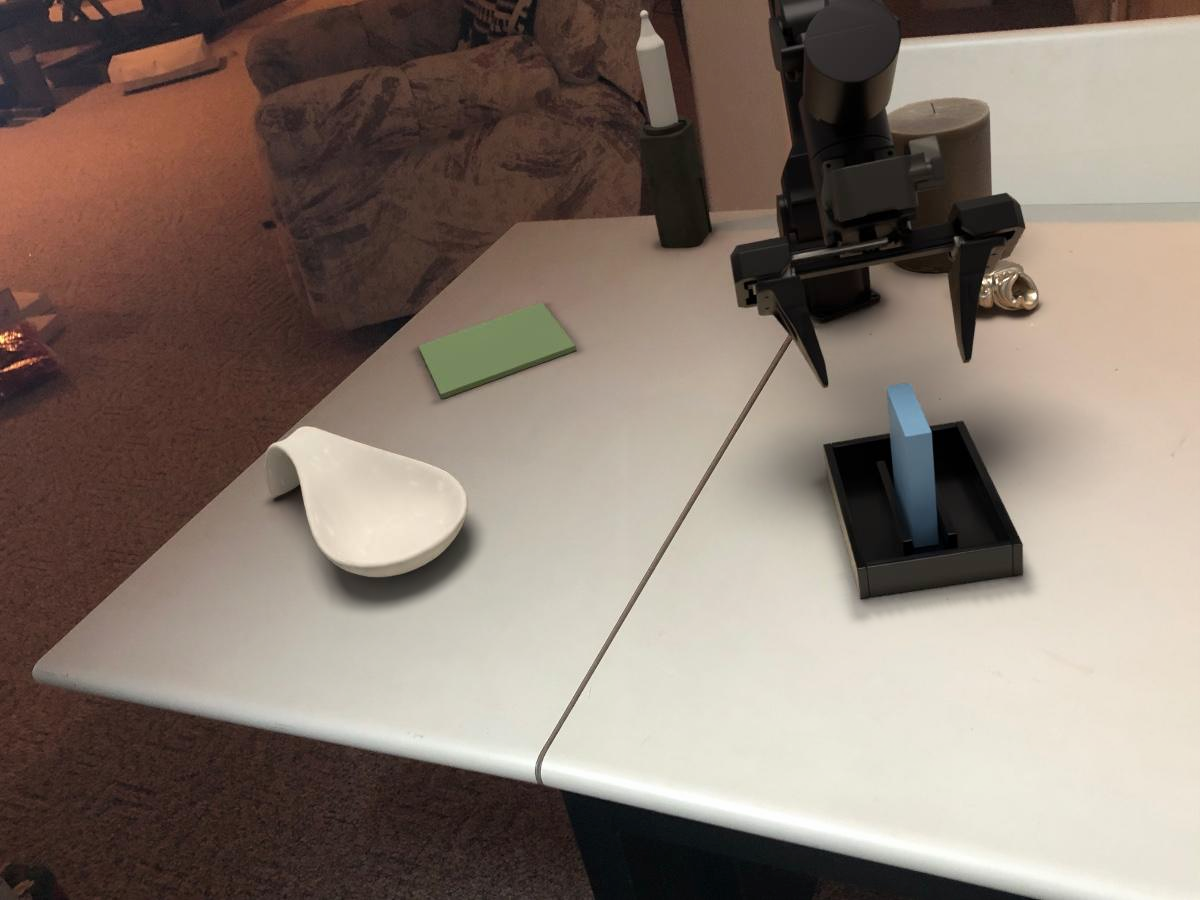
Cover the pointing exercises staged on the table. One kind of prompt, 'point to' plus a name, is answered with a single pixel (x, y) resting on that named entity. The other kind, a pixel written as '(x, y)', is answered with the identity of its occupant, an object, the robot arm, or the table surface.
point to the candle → (670, 151)
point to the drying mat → (495, 349)
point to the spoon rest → (368, 501)
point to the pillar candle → (946, 160)
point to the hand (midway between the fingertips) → (895, 374)
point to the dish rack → (964, 517)
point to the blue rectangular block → (913, 464)
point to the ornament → (1008, 288)
